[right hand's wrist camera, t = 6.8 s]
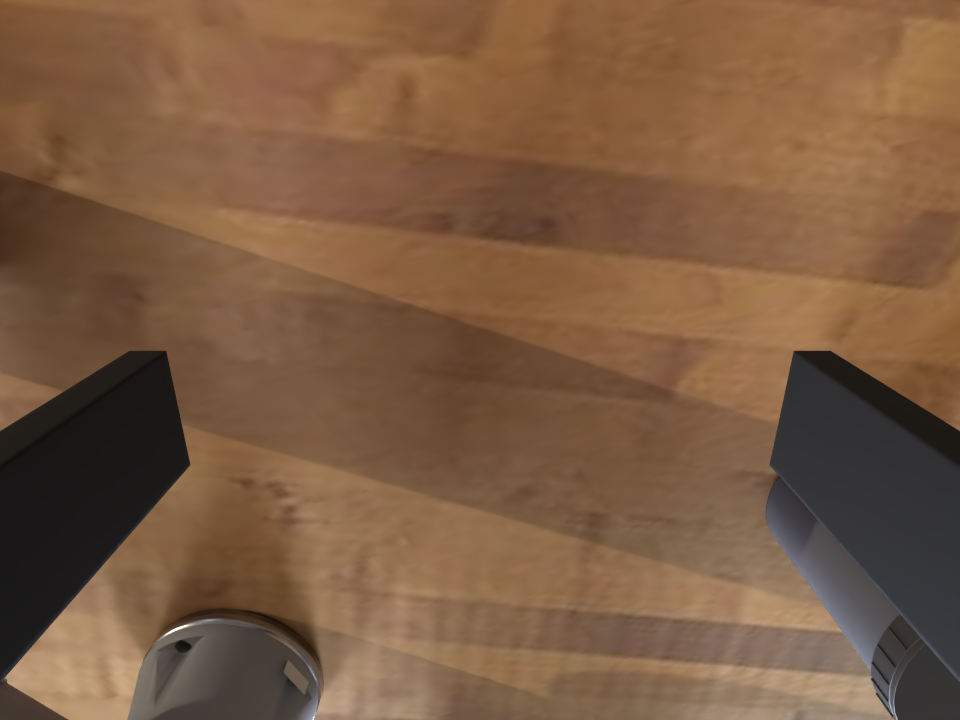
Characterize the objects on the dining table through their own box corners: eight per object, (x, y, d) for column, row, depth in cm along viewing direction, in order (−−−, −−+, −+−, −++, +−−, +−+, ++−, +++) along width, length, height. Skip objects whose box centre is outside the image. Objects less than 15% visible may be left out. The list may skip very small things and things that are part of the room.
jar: (825, 576, 47) (973, 768, 33) (737, 511, 45) (856, 687, 31) (932, 492, 44) (1146, 663, 30) (844, 417, 42) (1031, 564, 28)
